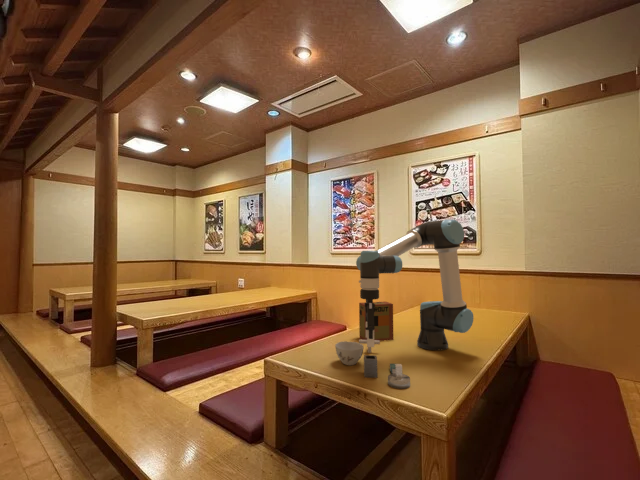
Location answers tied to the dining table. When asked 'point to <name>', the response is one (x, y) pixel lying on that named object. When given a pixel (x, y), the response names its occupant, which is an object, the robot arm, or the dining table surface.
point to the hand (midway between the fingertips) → (369, 342)
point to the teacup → (349, 352)
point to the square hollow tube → (370, 366)
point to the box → (378, 321)
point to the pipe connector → (366, 343)
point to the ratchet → (398, 377)
